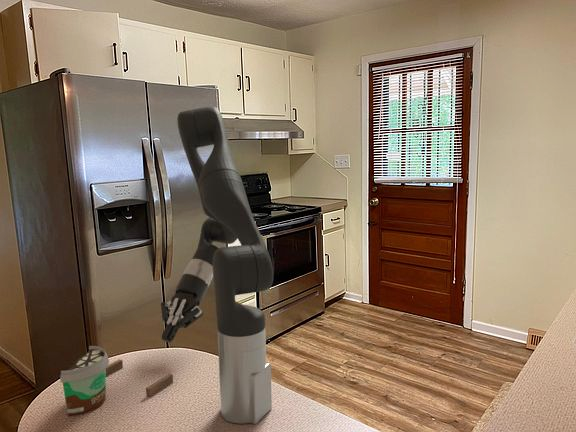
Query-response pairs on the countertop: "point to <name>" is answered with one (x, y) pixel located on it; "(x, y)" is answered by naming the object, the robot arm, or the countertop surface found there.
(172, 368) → the countertop surface
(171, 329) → the robot arm
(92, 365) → the food container
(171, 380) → the slot rails
